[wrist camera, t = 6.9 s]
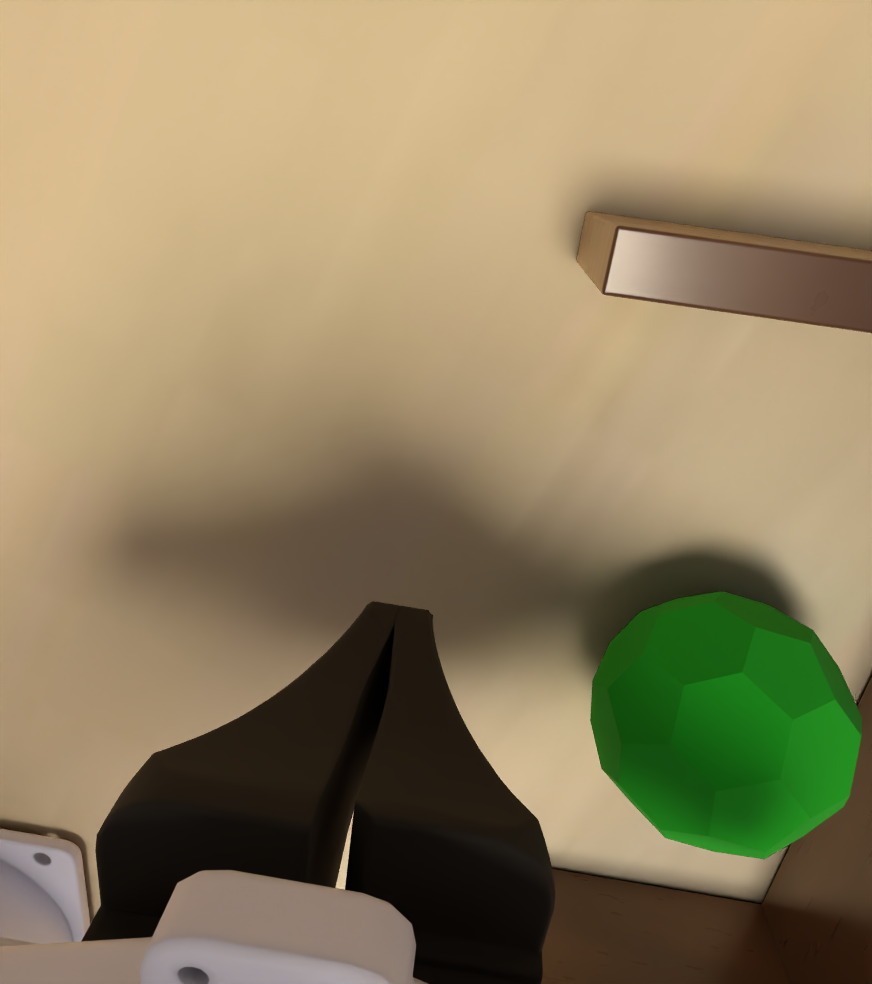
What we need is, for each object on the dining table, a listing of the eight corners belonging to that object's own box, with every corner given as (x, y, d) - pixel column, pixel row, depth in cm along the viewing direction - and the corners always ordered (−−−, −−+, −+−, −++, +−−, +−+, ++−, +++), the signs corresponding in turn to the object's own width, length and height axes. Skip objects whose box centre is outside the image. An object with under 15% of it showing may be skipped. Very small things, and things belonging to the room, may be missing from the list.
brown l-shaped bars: (454, 873, 20) (440, 1039, 16) (586, 210, 13) (619, 226, 9) (785, 929, 20) (852, 1113, 16) (1115, 284, 12) (1392, 333, 9)
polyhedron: (611, 747, 18) (644, 931, 13) (555, 587, 16) (571, 739, 12) (820, 704, 17) (929, 889, 12) (783, 527, 15) (896, 670, 11)
